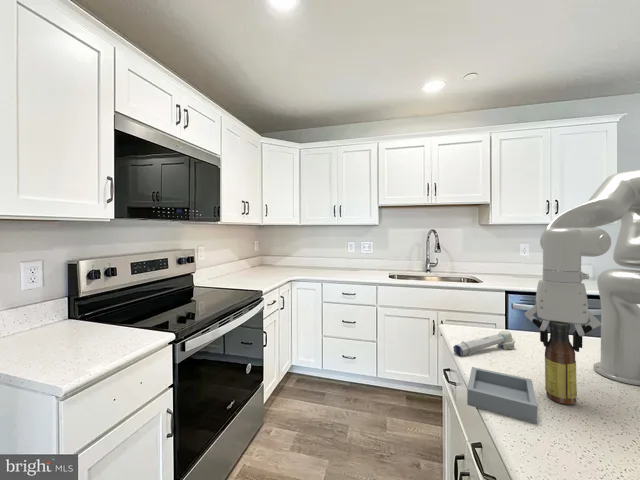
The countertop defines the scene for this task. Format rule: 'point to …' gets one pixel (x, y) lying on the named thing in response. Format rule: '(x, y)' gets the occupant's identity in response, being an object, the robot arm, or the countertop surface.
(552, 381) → the sauce bottle
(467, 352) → the electric cleaning brush
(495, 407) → the dock
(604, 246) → the robot arm
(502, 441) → the countertop surface
